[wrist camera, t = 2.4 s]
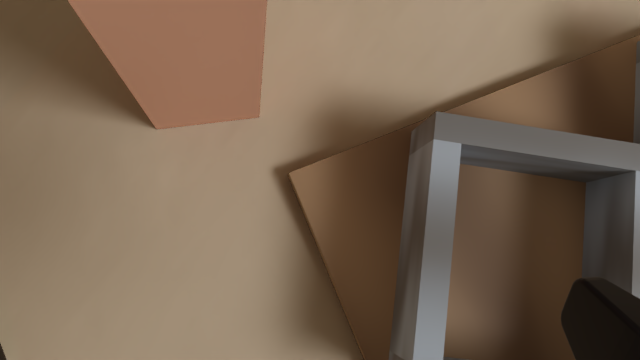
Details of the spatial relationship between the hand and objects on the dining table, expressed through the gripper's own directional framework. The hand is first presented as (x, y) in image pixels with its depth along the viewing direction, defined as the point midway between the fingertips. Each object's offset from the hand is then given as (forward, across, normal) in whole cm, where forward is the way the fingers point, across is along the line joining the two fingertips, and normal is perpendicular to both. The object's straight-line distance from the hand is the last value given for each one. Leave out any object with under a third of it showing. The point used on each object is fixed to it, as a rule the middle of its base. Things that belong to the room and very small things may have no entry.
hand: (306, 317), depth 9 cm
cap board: (+11, -15, +7) cm, 19 cm away
